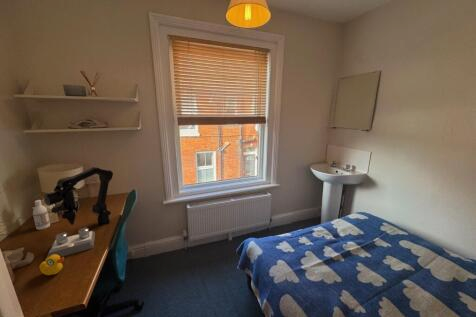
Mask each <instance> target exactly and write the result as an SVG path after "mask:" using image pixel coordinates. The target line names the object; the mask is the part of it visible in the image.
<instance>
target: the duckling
mask: <svg viewBox="0 0 476 317" xmlns="http://www.w3.org/2000/svg"><path fill="white" fill-rule="evenodd" d="M64 260H65V256H63V257H60V256H59V255H57V254H54V255H51V256H50V257H48V258H47V257H46V258H45V261H42V262H41V263H40V264H39V270H40V272H41V274H43V275H45V276H52V275H57V274H58V273H59V272H61V270H62V269H63V267H64V266H63V262H64Z"/></svg>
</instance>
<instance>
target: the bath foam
mask: <svg viewBox="0 0 476 317" xmlns="http://www.w3.org/2000/svg"><path fill="white" fill-rule="evenodd" d="M34 206H35V207H34V208H33V210H32V217H33V220H34V221H33V222H34V224H35V225H34V226H35V228H36V230H37V231H38V230H39V231H40V230H44V229H48V228H49V227H50V226H51V223H50V222H51V221H50V218H49V213H48V210H47V208H46V207H45V206H44V205H42V201H41V199H37V200H34Z"/></svg>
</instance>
